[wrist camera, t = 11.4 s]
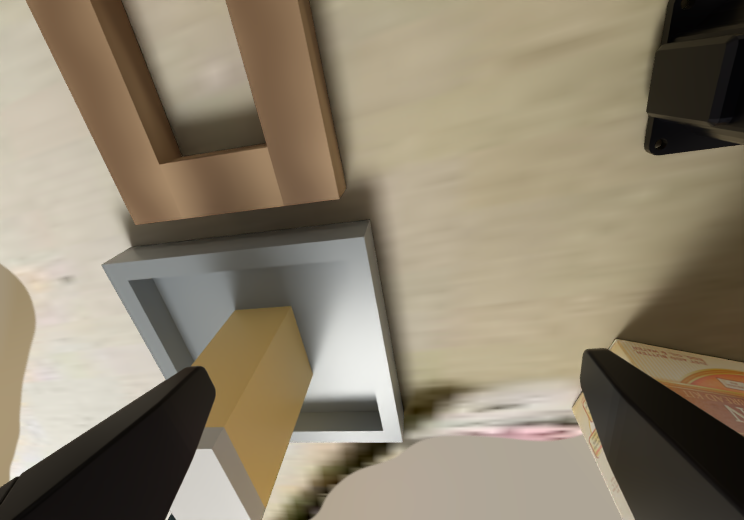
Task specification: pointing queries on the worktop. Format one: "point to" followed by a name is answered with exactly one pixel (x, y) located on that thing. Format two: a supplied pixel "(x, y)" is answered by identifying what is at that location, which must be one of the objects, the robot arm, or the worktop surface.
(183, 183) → the brown wooden frame
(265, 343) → the tan rectangular block
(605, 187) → the worktop surface
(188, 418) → the robot arm
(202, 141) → the worktop surface
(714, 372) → the coffeecake box
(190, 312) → the parts tray
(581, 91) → the worktop surface
